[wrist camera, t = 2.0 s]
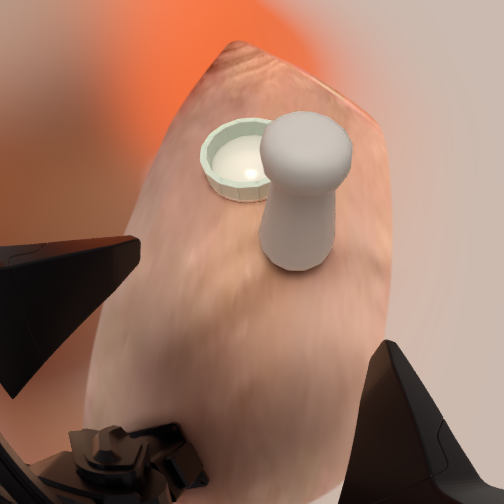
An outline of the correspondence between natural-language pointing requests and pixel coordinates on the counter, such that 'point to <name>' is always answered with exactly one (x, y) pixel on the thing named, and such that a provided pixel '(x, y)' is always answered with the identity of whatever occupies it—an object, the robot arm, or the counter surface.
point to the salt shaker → (302, 187)
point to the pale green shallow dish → (236, 160)
